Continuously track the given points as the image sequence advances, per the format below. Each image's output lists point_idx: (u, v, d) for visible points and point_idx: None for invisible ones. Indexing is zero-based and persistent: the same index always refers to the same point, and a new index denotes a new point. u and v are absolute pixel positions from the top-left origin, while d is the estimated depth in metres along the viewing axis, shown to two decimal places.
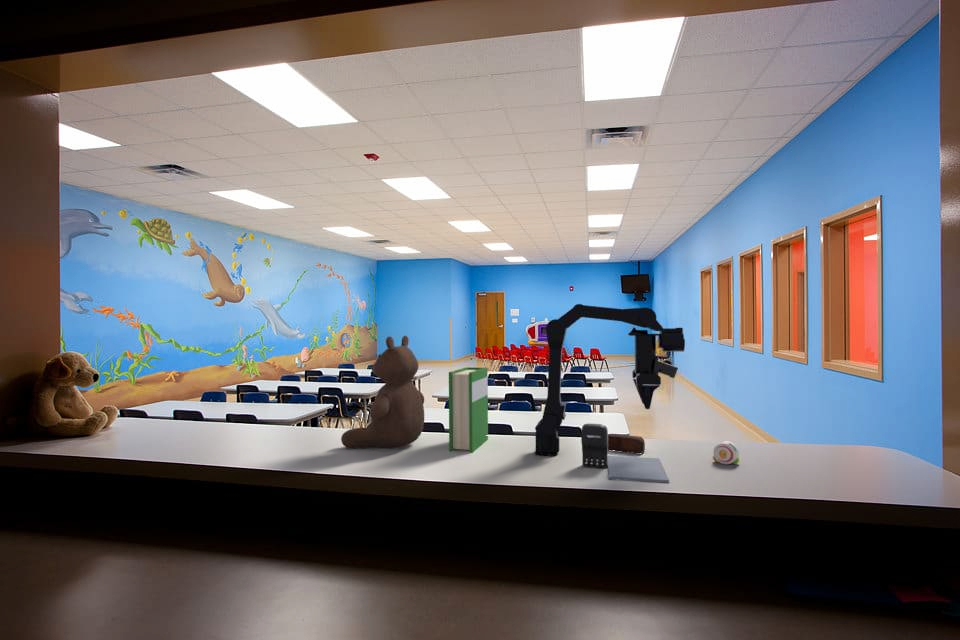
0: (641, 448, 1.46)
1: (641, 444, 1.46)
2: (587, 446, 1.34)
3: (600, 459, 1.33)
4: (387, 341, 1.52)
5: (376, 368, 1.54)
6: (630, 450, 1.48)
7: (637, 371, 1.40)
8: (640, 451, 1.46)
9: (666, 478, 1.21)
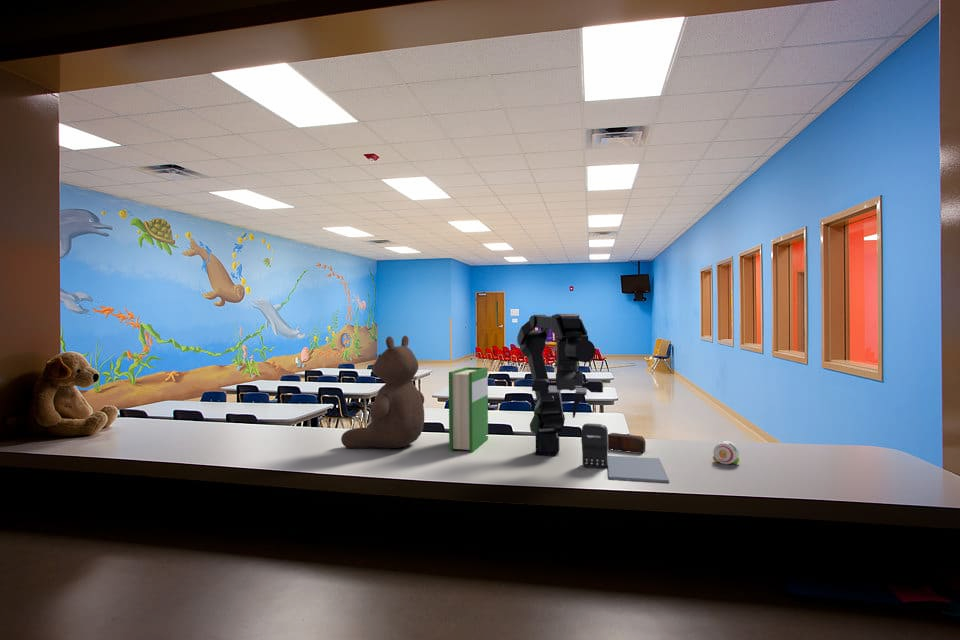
0: (641, 447, 1.47)
1: (641, 443, 1.47)
2: (587, 446, 1.34)
3: (600, 459, 1.33)
4: (387, 341, 1.52)
5: (376, 368, 1.54)
6: (631, 449, 1.49)
7: None
8: (640, 450, 1.47)
9: (666, 478, 1.21)
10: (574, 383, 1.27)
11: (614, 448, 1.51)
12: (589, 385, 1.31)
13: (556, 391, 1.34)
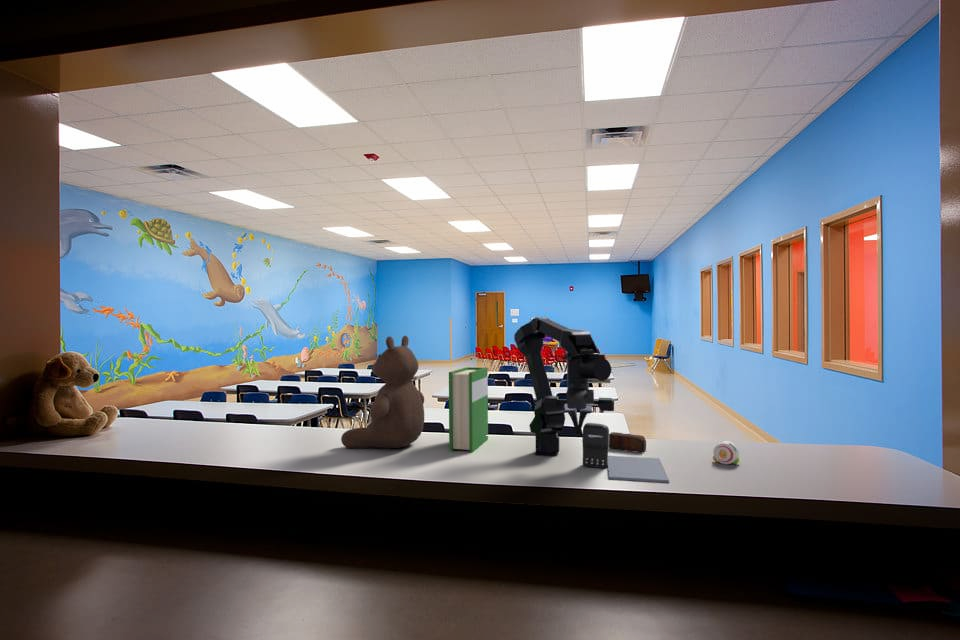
0: (642, 447, 1.48)
1: (642, 443, 1.48)
2: (588, 445, 1.34)
3: (600, 459, 1.33)
4: (387, 341, 1.52)
5: (376, 368, 1.54)
6: (631, 449, 1.49)
7: None
8: (641, 450, 1.48)
9: (666, 478, 1.21)
10: (585, 402, 1.26)
11: (615, 447, 1.52)
12: (600, 403, 1.30)
13: (572, 409, 1.33)
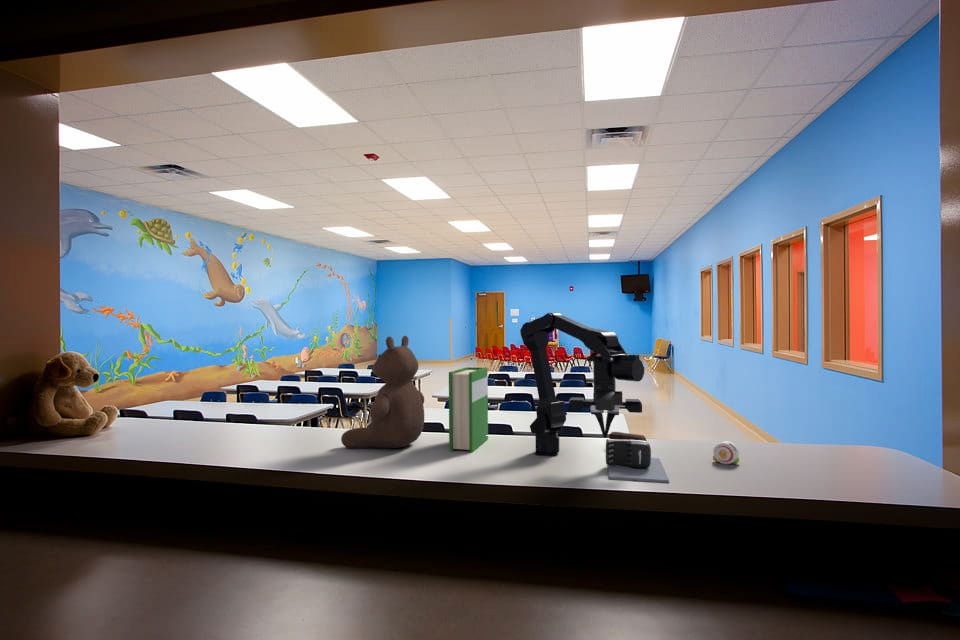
0: None
1: None
2: (627, 447, 1.31)
3: (613, 458, 1.32)
4: (387, 341, 1.52)
5: (376, 368, 1.54)
6: None
7: None
8: None
9: (666, 478, 1.21)
10: (614, 404, 1.25)
11: None
12: (628, 405, 1.29)
13: (599, 411, 1.31)
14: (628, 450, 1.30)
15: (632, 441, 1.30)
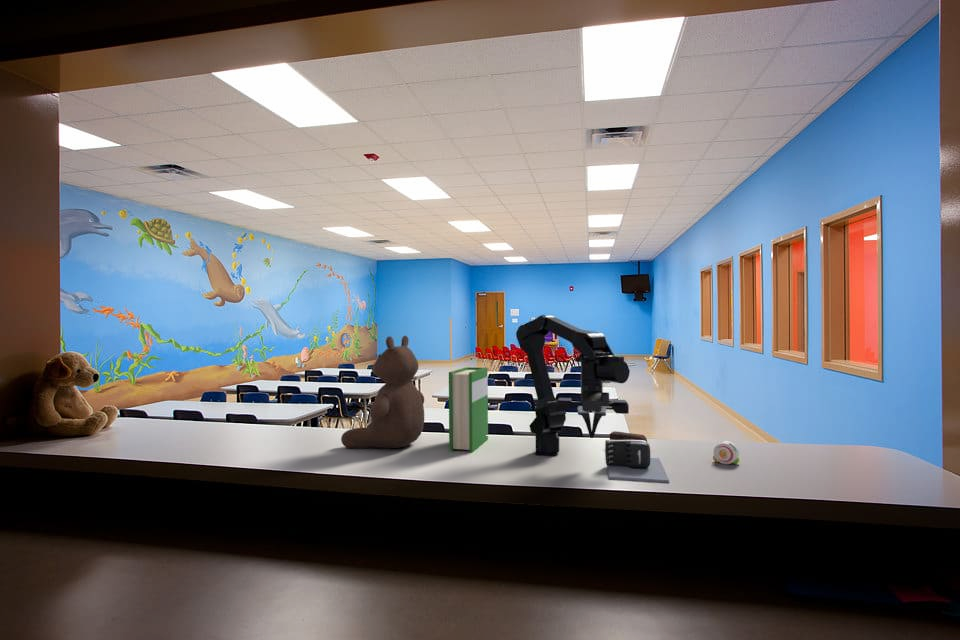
0: None
1: None
2: (626, 447, 1.31)
3: (613, 459, 1.32)
4: (387, 341, 1.52)
5: (376, 368, 1.54)
6: None
7: None
8: None
9: (666, 478, 1.21)
10: (601, 405, 1.26)
11: None
12: (615, 406, 1.30)
13: (586, 411, 1.32)
14: (627, 450, 1.31)
15: (631, 441, 1.31)
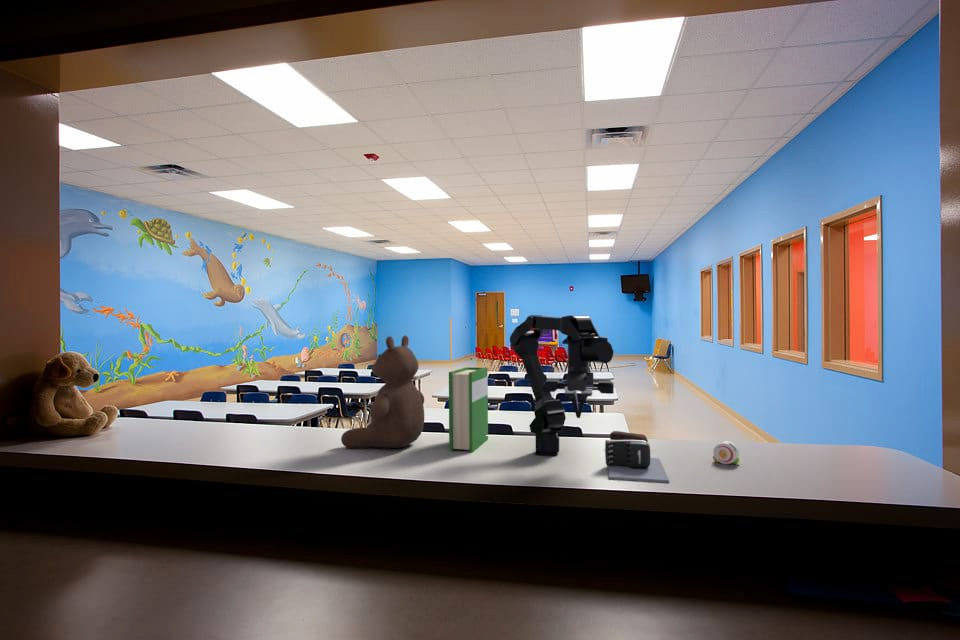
0: None
1: None
2: (626, 447, 1.31)
3: (613, 459, 1.32)
4: (387, 341, 1.52)
5: (376, 368, 1.54)
6: None
7: None
8: None
9: (666, 478, 1.21)
10: (585, 384, 1.29)
11: None
12: (600, 386, 1.32)
13: (572, 392, 1.35)
14: (627, 450, 1.31)
15: (631, 441, 1.31)
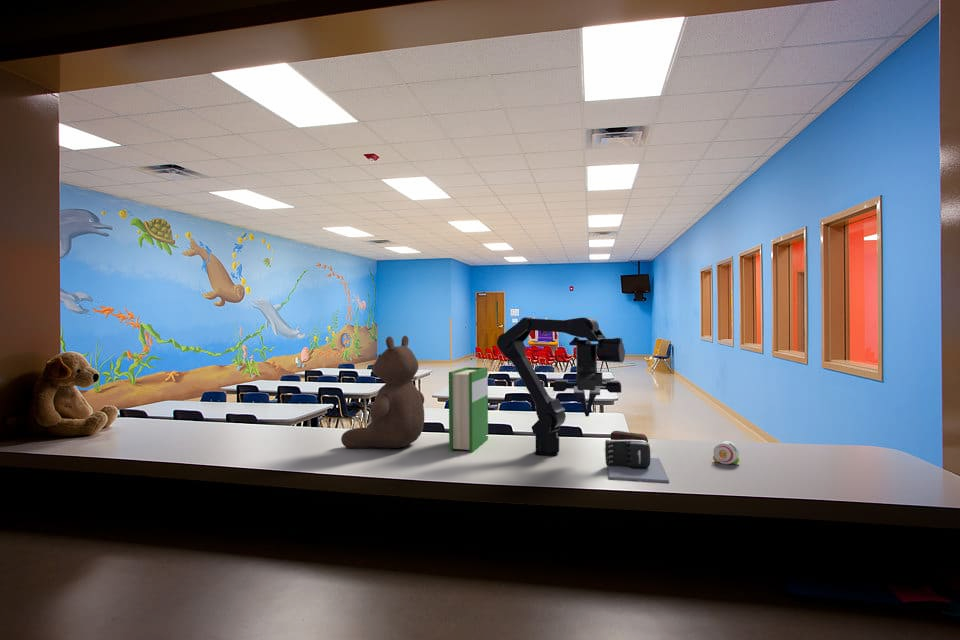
0: None
1: None
2: (626, 447, 1.31)
3: (613, 459, 1.32)
4: (387, 341, 1.52)
5: (376, 368, 1.54)
6: None
7: None
8: None
9: (666, 478, 1.21)
10: (594, 384, 1.34)
11: None
12: (608, 385, 1.38)
13: (581, 391, 1.40)
14: (627, 450, 1.31)
15: (631, 441, 1.31)
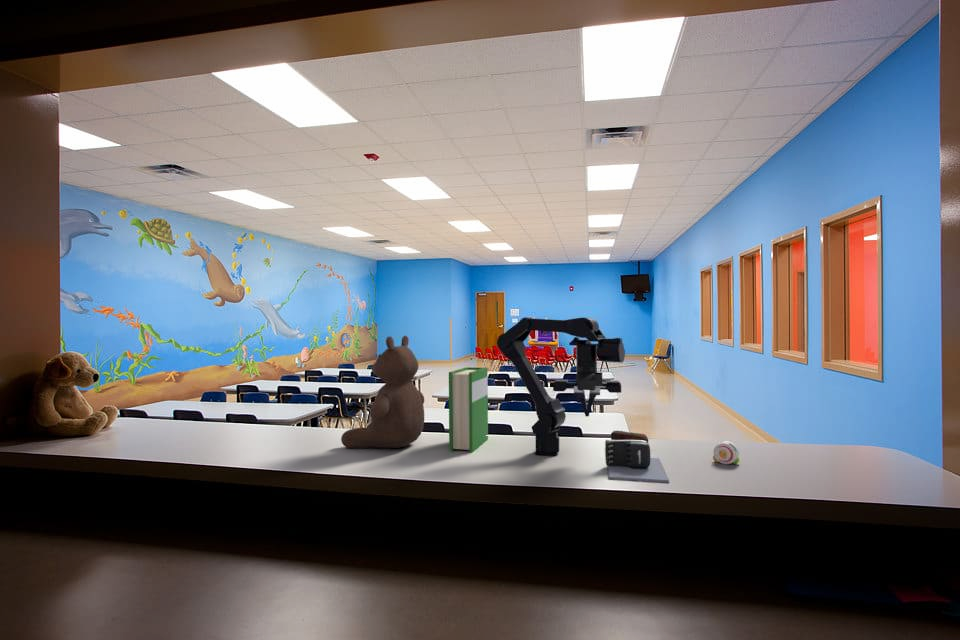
0: None
1: None
2: (626, 447, 1.31)
3: (613, 459, 1.32)
4: (387, 341, 1.52)
5: (376, 368, 1.54)
6: None
7: None
8: None
9: (666, 478, 1.21)
10: (594, 384, 1.34)
11: None
12: (608, 385, 1.38)
13: (581, 391, 1.40)
14: (627, 450, 1.31)
15: (631, 441, 1.31)
